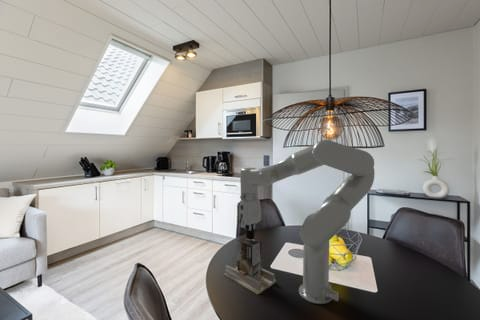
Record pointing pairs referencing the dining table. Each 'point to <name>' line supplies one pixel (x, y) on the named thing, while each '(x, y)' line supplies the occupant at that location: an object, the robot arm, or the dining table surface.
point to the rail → (251, 279)
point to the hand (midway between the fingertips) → (250, 238)
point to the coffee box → (249, 257)
